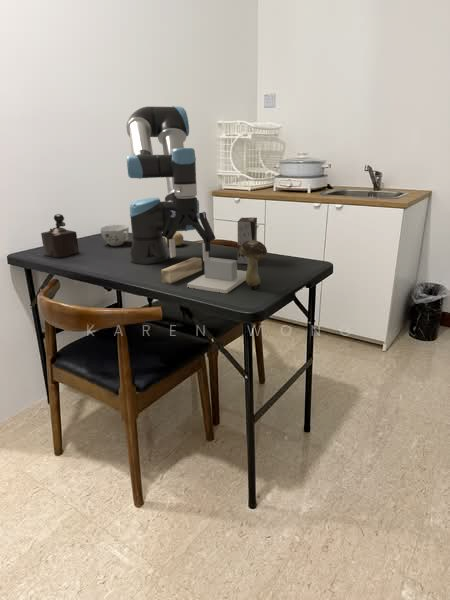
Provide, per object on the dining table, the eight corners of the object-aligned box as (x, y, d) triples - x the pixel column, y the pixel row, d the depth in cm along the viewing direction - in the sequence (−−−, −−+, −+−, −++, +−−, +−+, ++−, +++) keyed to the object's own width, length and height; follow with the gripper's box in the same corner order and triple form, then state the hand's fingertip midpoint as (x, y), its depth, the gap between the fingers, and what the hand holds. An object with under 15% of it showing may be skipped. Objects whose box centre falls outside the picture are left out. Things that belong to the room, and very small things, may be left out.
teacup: (96, 245, 190) (94, 228, 187) (118, 240, 199) (116, 223, 196) (117, 249, 181) (115, 231, 179) (139, 244, 191) (137, 226, 188)
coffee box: (254, 264, 157) (254, 221, 151) (237, 263, 158) (236, 221, 152) (257, 258, 165) (257, 217, 159) (241, 257, 166) (241, 216, 161)
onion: (171, 243, 192) (170, 227, 189) (186, 244, 189) (185, 228, 187) (162, 247, 185) (161, 231, 182) (179, 248, 182) (178, 232, 180)
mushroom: (243, 282, 138) (243, 237, 132) (269, 284, 135) (270, 238, 130) (236, 292, 129) (235, 244, 124) (263, 294, 127) (264, 246, 121)
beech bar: (162, 282, 140) (161, 269, 138) (194, 269, 154) (193, 257, 152) (170, 284, 138) (169, 271, 136) (202, 270, 152) (201, 258, 150)
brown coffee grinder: (42, 255, 175) (34, 212, 169) (65, 249, 184) (59, 208, 177) (63, 260, 167) (56, 215, 160) (87, 254, 175) (81, 211, 168)
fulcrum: (187, 287, 134) (186, 265, 131) (216, 270, 151) (216, 251, 148) (226, 293, 128) (225, 271, 125) (252, 275, 145) (252, 255, 142)
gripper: (148, 197, 142) (153, 257, 149) (213, 199, 131) (215, 264, 139) (161, 194, 148) (165, 253, 156) (224, 196, 138) (225, 259, 145)
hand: (189, 258), depth 147 cm, fingers open, 13 cm apart
